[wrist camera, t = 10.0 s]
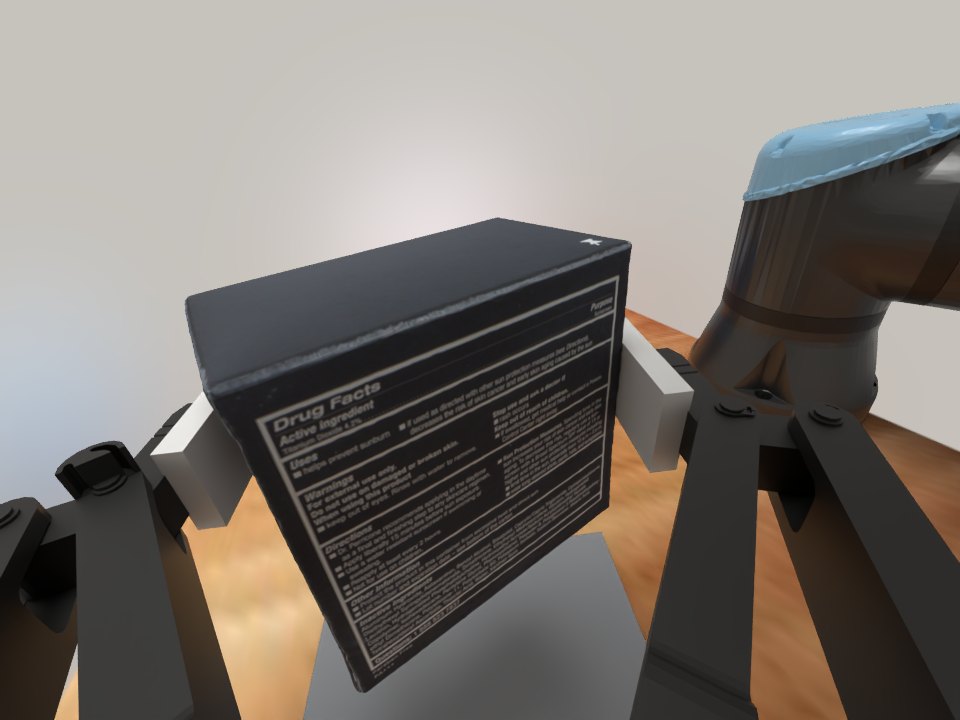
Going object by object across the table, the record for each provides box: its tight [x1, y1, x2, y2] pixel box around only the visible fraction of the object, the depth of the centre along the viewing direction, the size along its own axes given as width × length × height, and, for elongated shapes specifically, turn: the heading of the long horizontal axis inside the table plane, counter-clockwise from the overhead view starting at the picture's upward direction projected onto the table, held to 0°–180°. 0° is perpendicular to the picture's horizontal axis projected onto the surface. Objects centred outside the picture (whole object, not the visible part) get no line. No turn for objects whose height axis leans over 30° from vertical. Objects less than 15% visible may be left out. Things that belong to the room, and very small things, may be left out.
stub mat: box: [303, 532, 647, 720], centre depth 22 cm, size 18×14×1 cm
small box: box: [185, 218, 632, 693], centre depth 14 cm, size 11×6×10 cm, turn 125°
